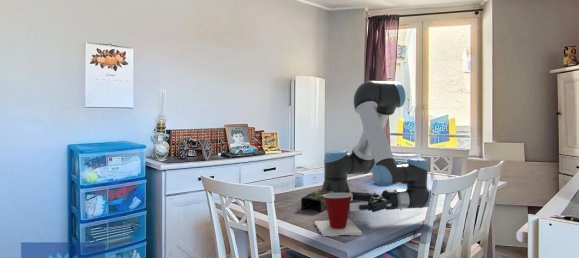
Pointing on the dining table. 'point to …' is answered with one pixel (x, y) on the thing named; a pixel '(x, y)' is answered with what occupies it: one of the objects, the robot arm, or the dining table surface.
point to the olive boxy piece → (315, 199)
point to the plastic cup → (338, 208)
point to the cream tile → (337, 229)
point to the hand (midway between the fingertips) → (342, 202)
